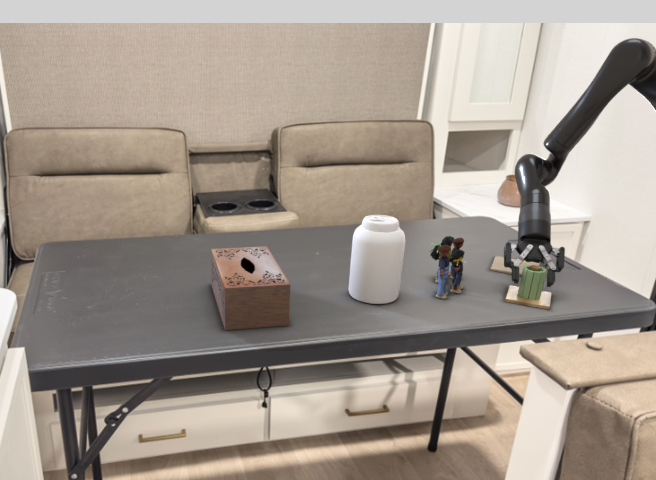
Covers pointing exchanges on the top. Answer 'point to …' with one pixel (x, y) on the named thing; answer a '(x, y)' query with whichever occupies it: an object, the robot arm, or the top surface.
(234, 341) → the top surface
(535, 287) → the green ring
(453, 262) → the doll family
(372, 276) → the can
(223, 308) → the tissue box cover
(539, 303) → the stacking stand
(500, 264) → the oatmeal mat
